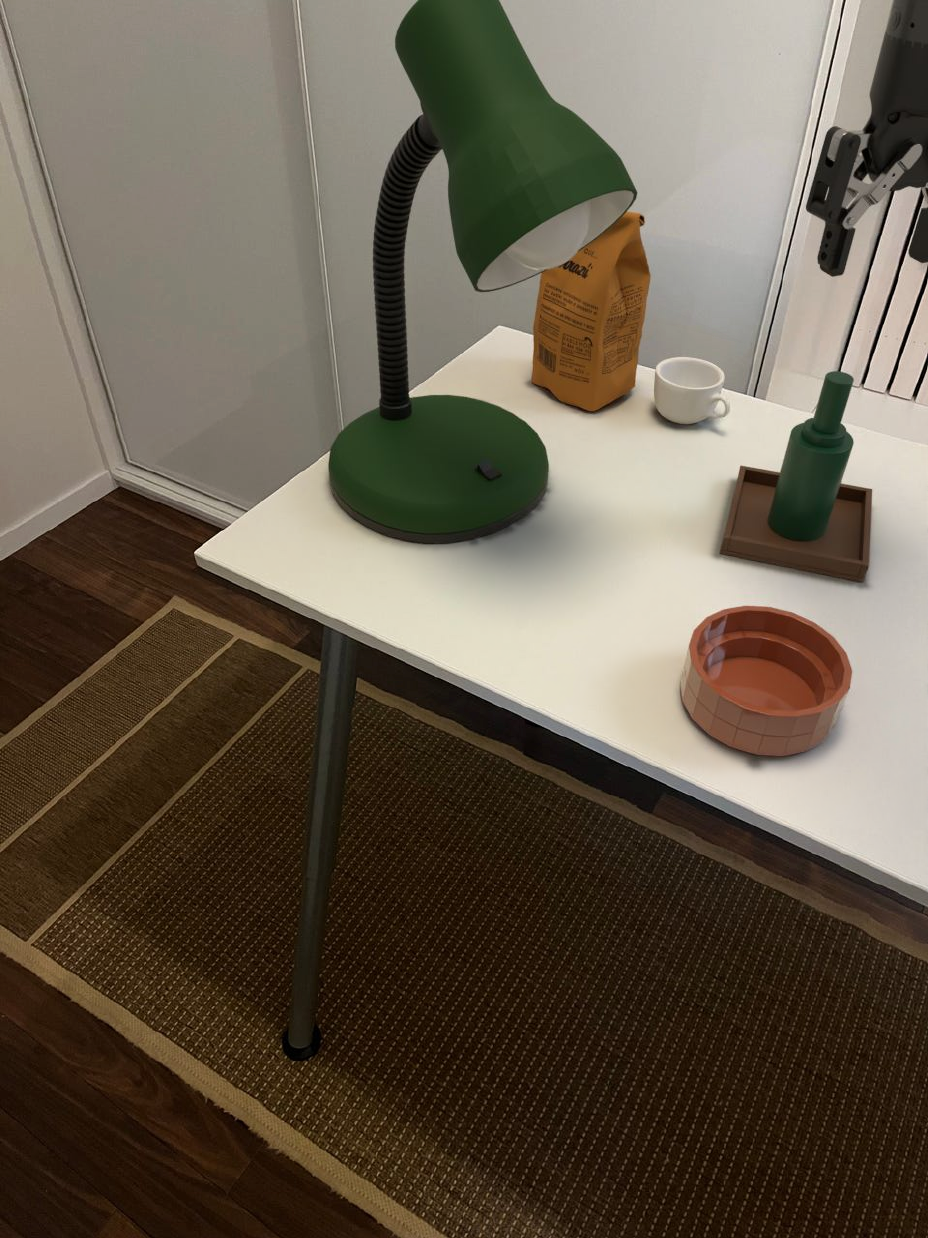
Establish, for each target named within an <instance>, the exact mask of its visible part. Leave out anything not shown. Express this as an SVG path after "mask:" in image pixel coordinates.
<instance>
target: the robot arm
mask: <svg viewBox="0 0 928 1238" xmlns="http://www.w3.org/2000/svg"><path fill="white" fill-rule="evenodd" d="M869 100H870V106H871V110H870V115H869V118H868V119H867V122H866V123H865V124H864V127H863V128H862V129H861V130H847V129H845V128H842V127H839V126H837V125H833V126H831V127H830V128H829V129H828V130H827V132H826V133H825V136H824V139H823V143H822V147H821V150H820V154H819V157H818V161H817V165H816V168H815V171H814V175H813V180H812V183H811V186H810V189H809V193H808V197H807V200H806V204H805V210H806V212H807V213H809V214H811V215H813V216H814V217H816V218H818V219H820V220H822V221H823V222H824V229H823V233H822V238H821V241H820V245H819V247H818V248H819V249H818V252H817V257H816V258H817V264H818V265H819V268H820V270H821V271H822V272H823V273H824V274H827V275H828V276H830V277H832V278H834V277H840V276H843V275H844V273H845V270H846V266H847V263H848V259H849V256H850V252H851V248H852V245H853V240H854V237H855V233H856V229H857V228H855V227H854V226H855V225H857V223H858V222H859V221H860V219H861V218H862V217H863V216H864V215H865V213H866V212H867V211H868V209H869V208H871V206H874V205H877V204H879V203H880V202H881V201H882V200H883V198H884V197H885V196H886V195H887V194H888V192H899V191H901V190H903V189H906V188H909V187H910V188H915V189H921V191H922V194H923V197H924V201H925V204H926V205H928V0H892V3H891V7H890V12H889V14H888V19H887V23H886V26H885V31H884V34H883V38H882V43H881V46H880V51H879V54H878V58H877V61H876V65H875V70H874V74H873V78H872V82H871V86H870V90H869ZM860 154H861V155H860ZM867 176H868V178H869V179H870V181H871V183H866V182H864V181H863V180H864V179H865V178H866V177H867ZM850 203H851V204H850ZM907 252H908V256H909V257H910V258H911V259H913V260H914V261H916V262H918V263H920V264H927V263H928V206H926V207H921V208H920V212H919V215H918V218H917V222H916V225H915V228H914V231H913V234H912V238H911V241H910V244H909V247H908V251H907Z"/></svg>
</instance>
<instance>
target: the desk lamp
mask: <svg viewBox="0 0 928 1238" xmlns="http://www.w3.org/2000/svg"><path fill="white" fill-rule="evenodd" d="M394 47H395V52H396V54H397V56H398V59H399V61H400V63H401V66H402V68H403V69H404V71H405V73H406V75H407V77H408V80H409V81H410V84H411V86H412V88H413V89H414V92H415V93H416V96H417V98H418V100H419V105H420V109H421V112H422V114H421V115H419V116H418V117H417V118H416V119H415V120H414V121H413V122H412V124H411V125H410V126H409V128H408V129H407V130H406V131H405V133H404V134H403V135H402V137H401V139H400V140H399V141H398V143H397V145H396V146H395V148H394V150H393V152H392V154H391V156H390V157H389V160H388V163H387V166H386V169H385V171H384V176H383V178H382V180H381V181H382V182H381V186H380V191H379V194H378V201H377V208H376V212H375V214H376V215H375V218H374V219H375V223H374V227H373V240H372V263H373V264H372V271H373V272H372V278H373V295H374V309H375V325H376V329H375V330H376V339H377V340H376V344H377V359H378V374H379V375H378V377H379V387H380V388H379V391H380V398H379V400H378V407H376V408H374V409H372V410H369V411H367V412H365V413H363V414H361V415H360V416H358V417H357V418H355V419H354V420H352V421H350V423H348V424H347V425H346V426H345V427H344V428H343V429H342V430H341V431H340V432H339V433H338V434H337V436H336V437H335V439H334V441H333V443H332V444H331V446H330V449H329V457H328V465H327V466H328V467H327V469H328V477H329V485H330V488H331V492H332V495H333V496H334V498H335V500H336V501H337V503H338V504H339V506H340V507H341V508H342V509H343V510H344V511H345V512H346V513H347V514H348V515H349V516H350V517H351V518H353V519H354V520H356V521H358V522H359V523H361V524H362V525H363V526H365V527H367V528H369V529H371V530H374V531H376V532H378V533H380V534H383V535H385V536H388V537H391V538H396V539H399V540H403V541H407V542H414V543H415V542H416V543H421V544H422V543H423V544H449V543H455V542H461V541H469V540H474V539H476V538H480V537H484V536H487V535H491V534H493V533H496V532H498V531H500V530H502V529H505V528H507V527H509V526H511V525H513V524H514V523H516V522H518V521H519V520H521V519H522V518H524V517H526V516H527V515H528V514H529V513H531V511H532V510H534V509H535V508H536V507H537V506H538V505H539V504H540V502H541V501H542V499H543V497H544V496H545V494H546V492H547V491H546V490H547V487H548V483H549V472H550V463H549V457H548V452H547V447H546V445H545V443H544V442H543V440H542V439H541V437H540V436H539V434H538V432H537V431H536V430H535V429H533V427H532V426H531V425H529V423H528V422H527V421H525V420H524V419H522V418H521V417H519V416H518V415H516V414H515V413H513V412H511V411H509V410H507V409H505V408H504V407H501V406H499V405H497V404H494V403H491V402H488V401H486V400H483V399H478V398H473V397H469V396H462V395H454V394H453V395H452V394H428V395H421V396H419V395H418V396H413V397H410V387H409V386H410V383H409V382H410V381H409V361H408V359H409V358H408V356H409V354H408V339H407V338H408V332H407V331H408V330H407V310H406V309H407V307H406V306H407V305H406V288H405V287H406V286H405V285H406V281H405V279H406V278H405V277H406V275H405V260H406V259H405V255H406V251H405V250H406V241H407V234H408V228H409V221H410V215H411V212H412V206H413V201H414V199H415V194H416V191H417V188H418V186H419V183H420V180H421V178H422V177H423V174H424V173H425V171H426V169H427V168H428V167H429V166H430V163H431V162H432V161H433V160H434V159H435V157H437V155H438V154H440V152H441V151H442V152H443V155H444V157H445V161H446V164H447V171H448V180H447V199H448V208H449V216H450V222H451V229H452V234H453V240H454V246H455V251H456V255H457V257H458V260H459V261H460V264H461V265H462V267H463V270H464V271H465V273H466V275H467V277H468V279H469V281H470V283H471V285H472V287H473V289H474V291H475V292H478V293H491V292H494V291H499V290H502V289H506V288H509V287H511V286H514V285H517V284H519V283H522V282H525V281H526V280H530V279H531V278H534V277H536V276H537V275H541V273H542V272H544V271H546V270H548V269H554V268H557V267H559V266H561V265H562V264H564V263H566V262H567V261H569V260H571V259H572V258H573V257H574V256H575V254H576V253H577V252H579V251H580V250H581V249H583V248H584V247H586V246H587V245H589V244H590V243H591V242H593V241H594V240H595V239H597V238H598V237H599V236H600V235H602V234H603V233H604V232H605V231H607V230H608V229H609V228H610V227H611V226H612V225H614V224H615V223H616V222H617V221H618V220H619V219H620V218H621V217H622V216H623V215H624V214H625V213H626V212H629V210H630V209H631V207H632V206H633V205H634V203H635V201H636V200H637V197H638V190H637V188H636V186H635V184H634V182H633V180H632V178H631V176H630V174H629V172H628V169H627V168H626V166H625V164H624V162H623V160H622V158H621V156H620V155H619V154H618V153H617V152H616V151H615V149H614V148H612V146H611V145H609V143H608V142H607V141H606V140H605V139H603V137H601V135H600V134H599V133H597V131H596V130H594V129H593V128H592V127H591V126H590V125H589V123H587V122H586V121H585V120H584V119H582V118H581V116H579V115H578V114H577V113H575V112H574V111H573V110H571V109H570V108H568V107H566V106H565V105H562V104H560V103H559V102H558V101H556V100H555V99H554V98H553V97H552V96H551V94H550V93H549V91H548V90H547V88H546V87H545V85H544V83H543V81H542V80H541V79H540V76H539V75H538V73H537V71H536V69H535V68H534V65H533V64H532V62H531V60H530V58H529V57H528V56H529V55H528V54H527V52H526V51H525V49H524V46H523V44H522V43H521V41H520V39H519V37H518V35H517V33H516V31H515V29H514V27H513V25H512V23H511V21H510V19H509V17H508V15H507V13H506V11H505V9H504V7H503V5H502V3H501V0H417V1H415V3H414V4H413V5H412V6H411V7H410V9H408V11H407V12H406V14H405V15H404V17H403V18H402V19H401V21H400V24H399V25H398V27H397V30H396V32H395V37H394Z"/></svg>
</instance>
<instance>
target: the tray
mask: <svg viewBox="0 0 928 1238" xmlns="http://www.w3.org/2000/svg"><path fill="white" fill-rule="evenodd" d="M779 474H780V471H774V470H768V469H763V468H757V467H751V466H747V465H740V466H739V470H738V474H737V478H736V482H735V487H734V491H733V495H732V500H731V503H730V507H729V508H730V509H729V512H728V517H727V520H726V525H725V529H724V533H723V538H722V541H721V545H720V546H721V547H720V551H719V554H721V555H726V556H732V557H736V558H741V559H746V560H751V561H756V562H761V563H765V564H769V565H770V564H771V565H775V566H781V567H785V568H791V569H795V570H801V571H804V572H810V573H815V574H820V575H825V576H829V577H835V578H839V579H845V580H849V581H854V582H860V583H864V581H865V578H866V575H867V573H868V570H869V567H870V552H871V550H870V549H871V530H872V527H871V526H872V509H873V508H872V506H873V505H872V504H873V488H868V487H862V486H857V485H851V484H846V483H841V484H840V487H839V491H838V494H837V497H836V500H835V503H834V506H833V509H832V512H831V515H830V518H829V522H828V525H827V528H826V531H825V533H824V534H823V536H821V537H820V538H818V539H816V540H812V541H795V540H790V539H787V538H784V537H782V536H780V535H778V534H777V533H775V532H774V531H773V530H772V529H771V528H770V526H769V524H768V515H769V512H770V508H771V504H772V501H773V497H774V493H775V489H776V486H777V482H778V478H779Z"/></svg>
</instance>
